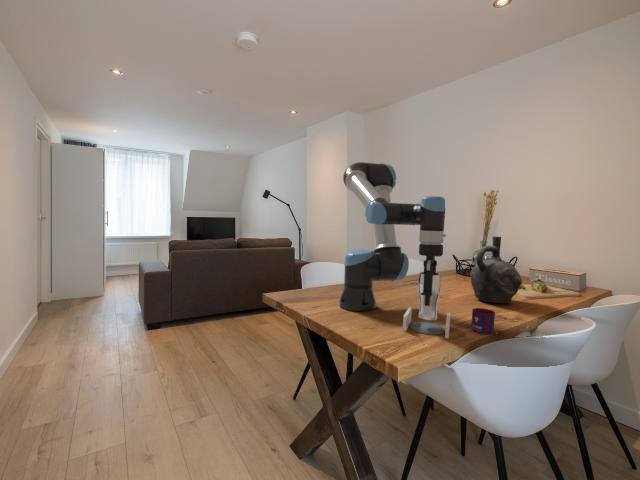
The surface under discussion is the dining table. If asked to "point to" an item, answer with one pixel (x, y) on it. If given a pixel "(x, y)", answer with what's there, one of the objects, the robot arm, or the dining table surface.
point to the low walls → (408, 319)
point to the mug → (483, 320)
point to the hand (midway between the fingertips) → (427, 312)
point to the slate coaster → (427, 328)
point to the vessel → (494, 276)
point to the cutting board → (542, 291)
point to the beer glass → (434, 296)
